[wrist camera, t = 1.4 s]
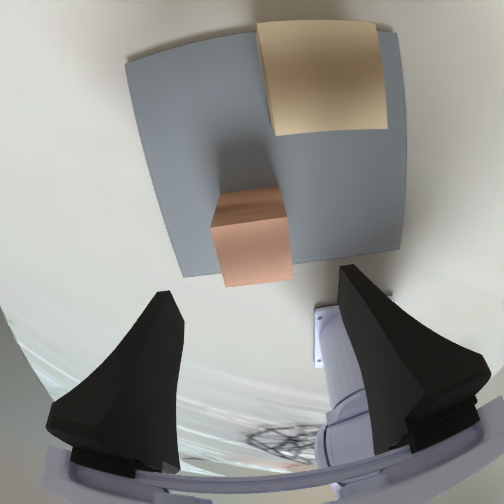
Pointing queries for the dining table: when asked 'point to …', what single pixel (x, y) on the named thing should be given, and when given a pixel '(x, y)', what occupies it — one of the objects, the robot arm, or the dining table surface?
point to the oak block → (322, 75)
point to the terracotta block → (252, 237)
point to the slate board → (264, 154)
